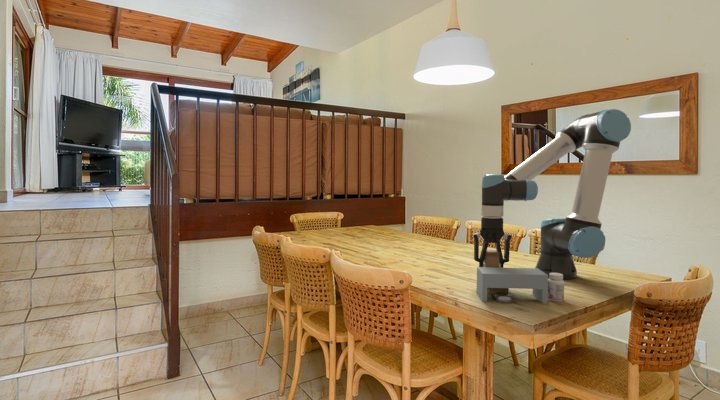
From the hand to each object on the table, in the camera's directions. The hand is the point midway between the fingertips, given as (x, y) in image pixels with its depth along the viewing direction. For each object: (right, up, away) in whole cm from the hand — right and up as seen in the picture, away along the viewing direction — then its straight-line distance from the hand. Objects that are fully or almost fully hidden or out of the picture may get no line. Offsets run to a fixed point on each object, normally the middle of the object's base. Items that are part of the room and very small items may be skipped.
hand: (490, 280), depth 140 cm
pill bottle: (+16, -3, -15) cm, 22 cm away
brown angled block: (-1, -2, -6) cm, 6 cm away
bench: (+2, -3, -14) cm, 14 cm away
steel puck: (-2, -3, -17) cm, 17 cm away
